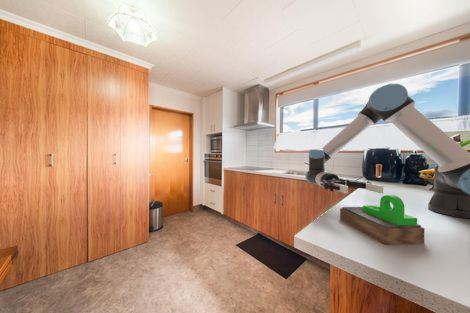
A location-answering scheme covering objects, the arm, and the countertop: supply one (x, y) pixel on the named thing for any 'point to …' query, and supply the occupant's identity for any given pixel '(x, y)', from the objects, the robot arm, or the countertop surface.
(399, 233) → the stand
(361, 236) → the countertop surface
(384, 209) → the mechanical part
